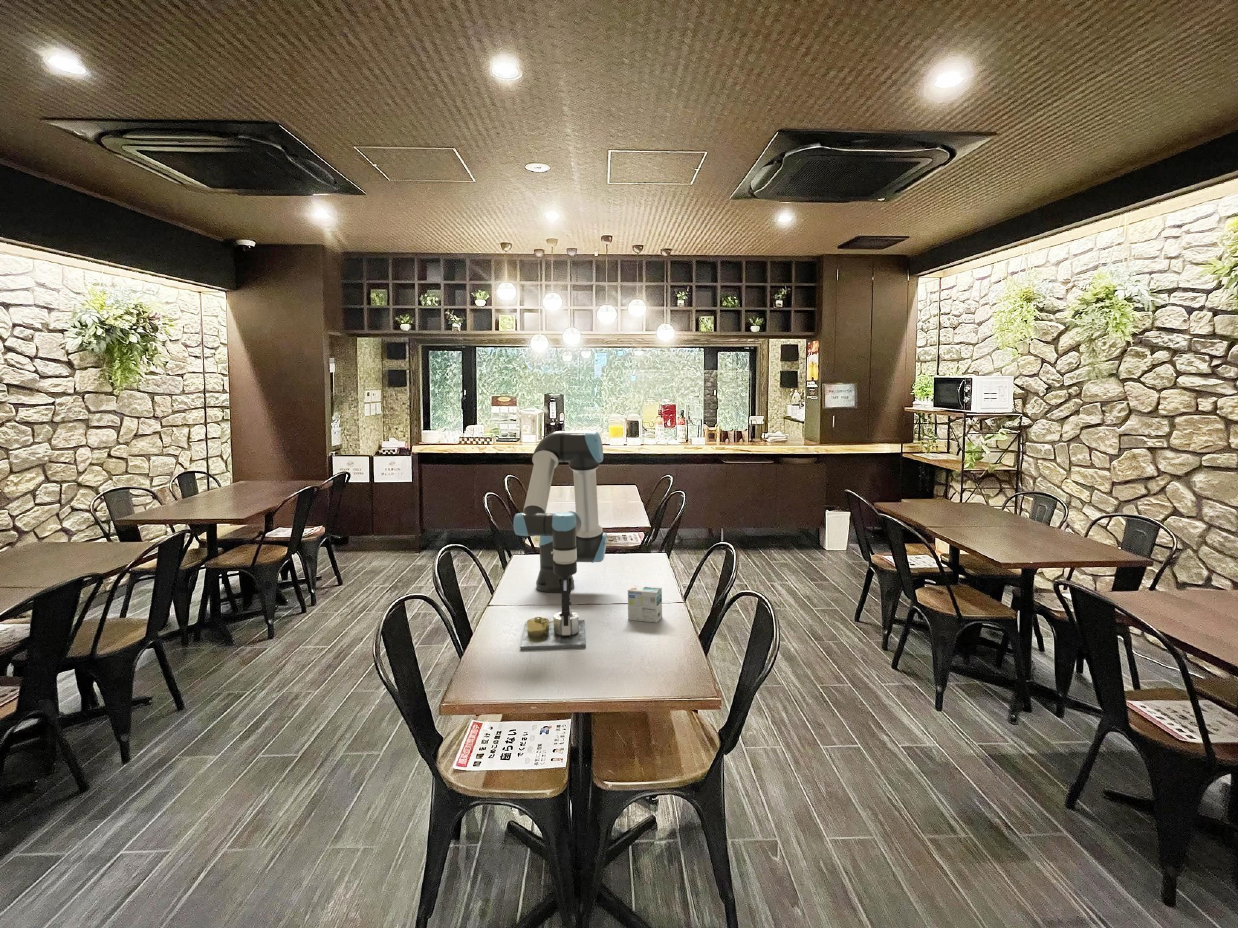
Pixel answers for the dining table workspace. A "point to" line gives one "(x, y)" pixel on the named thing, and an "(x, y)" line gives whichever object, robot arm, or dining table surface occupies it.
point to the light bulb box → (645, 603)
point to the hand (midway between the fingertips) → (566, 629)
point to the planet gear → (573, 623)
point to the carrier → (549, 636)
